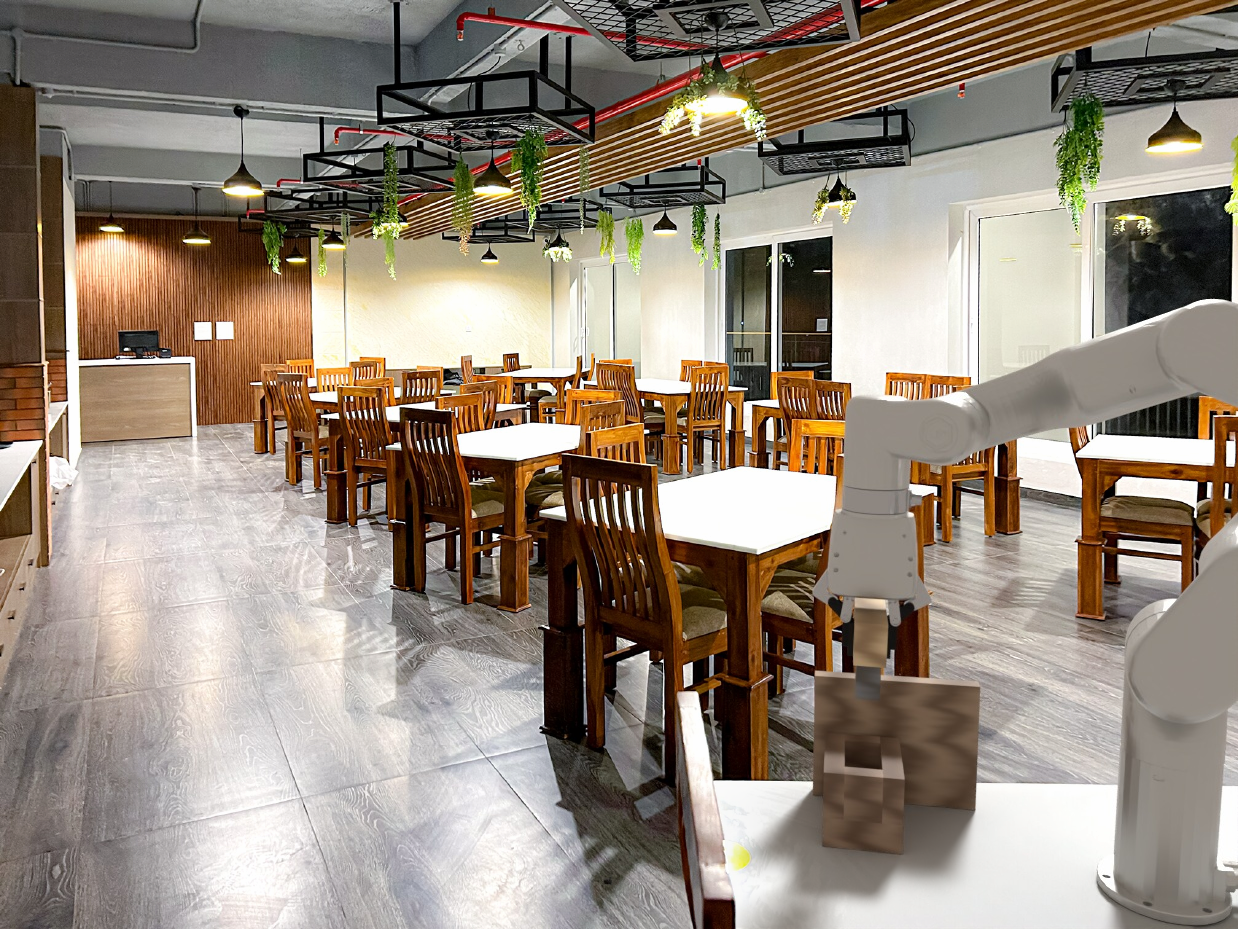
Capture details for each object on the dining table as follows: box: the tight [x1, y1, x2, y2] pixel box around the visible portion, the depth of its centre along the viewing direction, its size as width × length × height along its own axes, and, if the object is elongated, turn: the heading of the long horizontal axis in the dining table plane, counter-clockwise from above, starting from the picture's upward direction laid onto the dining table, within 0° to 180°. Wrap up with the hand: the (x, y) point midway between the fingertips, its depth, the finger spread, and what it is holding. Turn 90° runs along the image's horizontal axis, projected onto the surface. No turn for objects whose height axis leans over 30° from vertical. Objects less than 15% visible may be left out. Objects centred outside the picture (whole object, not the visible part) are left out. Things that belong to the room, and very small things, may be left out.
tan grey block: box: [852, 598, 888, 701], centre depth 116 cm, size 4×12×10 cm, turn 167°
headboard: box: [812, 670, 981, 855], centre depth 119 cm, size 20×15×16 cm
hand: (868, 652), depth 116 cm, fingers closed on tan grey block, 3 cm apart
